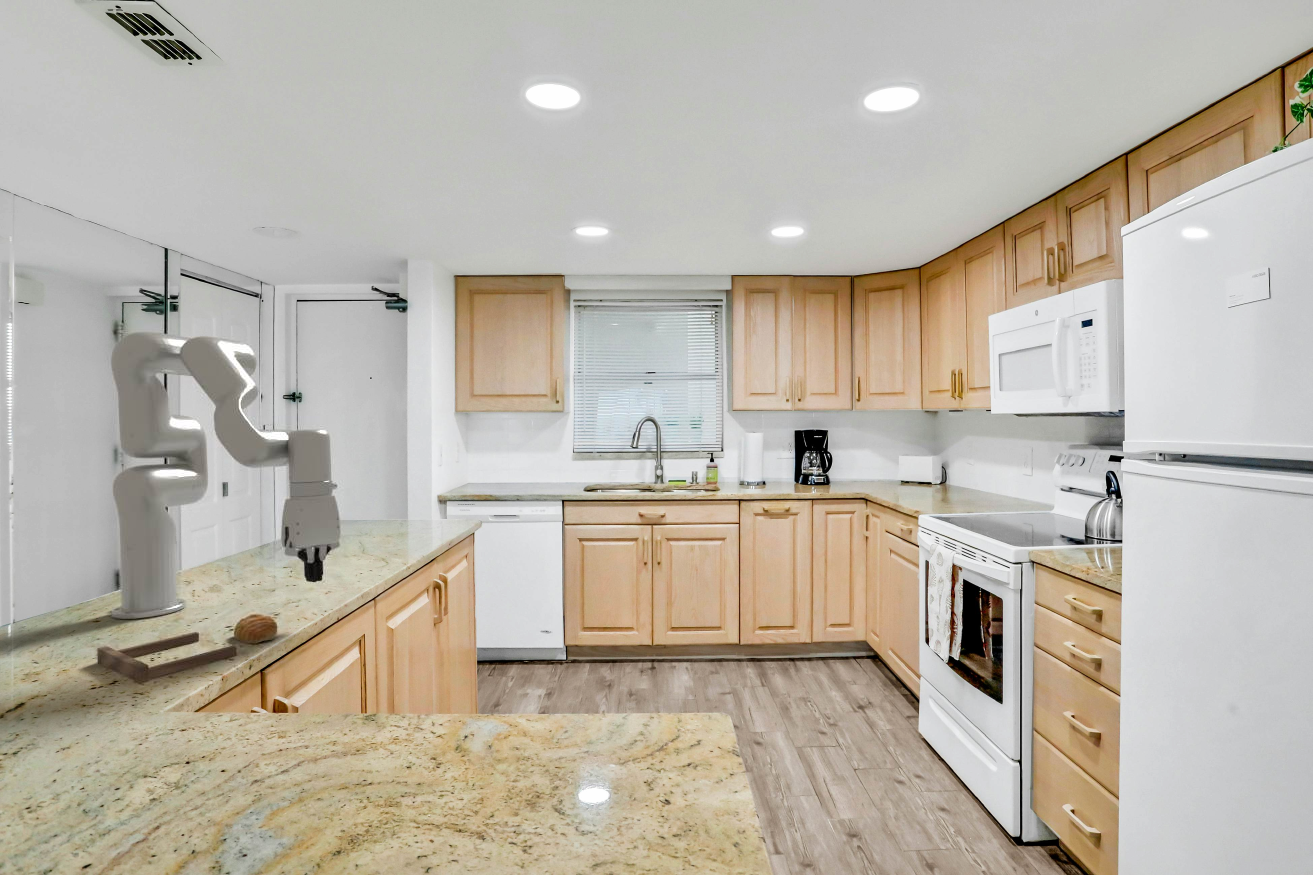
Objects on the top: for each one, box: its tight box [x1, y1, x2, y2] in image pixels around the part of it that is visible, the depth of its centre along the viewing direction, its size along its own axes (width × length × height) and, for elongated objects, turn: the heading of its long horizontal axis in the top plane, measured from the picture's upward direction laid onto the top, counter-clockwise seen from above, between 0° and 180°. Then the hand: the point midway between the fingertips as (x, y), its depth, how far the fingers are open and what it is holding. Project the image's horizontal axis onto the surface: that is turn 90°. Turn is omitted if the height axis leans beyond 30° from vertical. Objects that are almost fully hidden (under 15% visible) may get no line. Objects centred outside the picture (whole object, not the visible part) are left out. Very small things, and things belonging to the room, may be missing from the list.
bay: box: [96, 631, 238, 685], centre depth 109 cm, size 17×14×2 cm
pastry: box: [233, 613, 279, 644], centre depth 121 cm, size 9×7×4 cm
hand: (314, 580), depth 130 cm, fingers closed
